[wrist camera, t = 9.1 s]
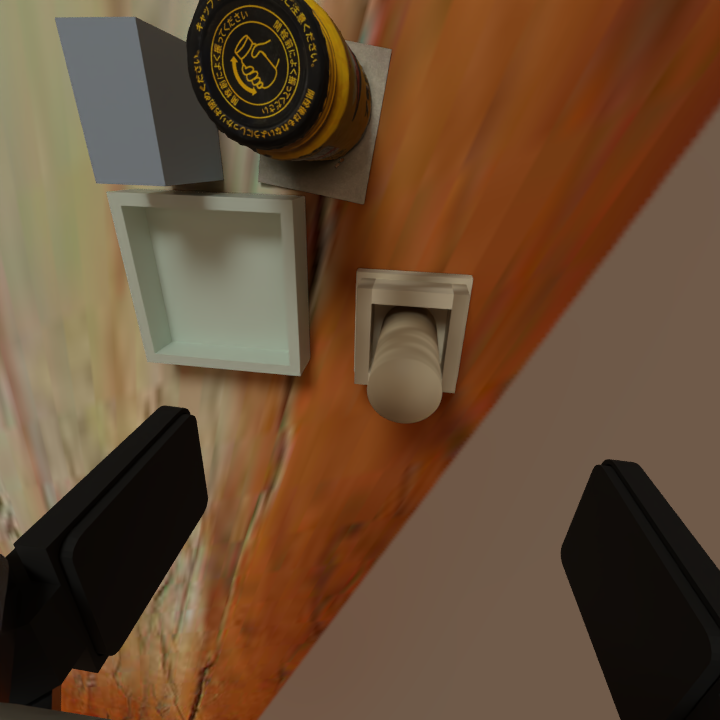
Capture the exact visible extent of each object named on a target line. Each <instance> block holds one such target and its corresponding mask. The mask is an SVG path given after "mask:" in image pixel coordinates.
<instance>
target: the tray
mask: <svg viewBox="0 0 720 720" xmlns="http://www.w3.org/2000/svg"><path fill="white" fill-rule="evenodd" d="M106 193H107V197H108V201H109V205H110V209H111V213H112V217H113V222H114V226H115V230H116V234H117V238H118V242H119V246H120V250H121V255H122V259H123V263H124V267H125V271H126V275H127V279H128V283H129V287H130V292H131V296H132V300H133V304H134V308H135V312H136V316H137V320H138V325H139V329H140V333H141V337H142V341H143V345H144V349H145V353H146V357H147V362H154V363H165V364H176V365H186V366H197V367H207V368H218V369H229V370H239V371H250V372H261V373H271V374H282V375H292V376H301V374H302V373H303V371H304V369H305V367H306V365H307V364H308V362H309V360H310V334H309V304H308V273H307V243H306V212H305V196H295V195H271V194H247V193H224V192H200V191H177V190H153V189H129V190H119V191H109V192H106Z"/></svg>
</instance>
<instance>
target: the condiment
mask: <svg viewBox="0 0 720 720" xmlns="http://www.w3.org/2000/svg"><path fill="white" fill-rule="evenodd" d="M186 48H187V63H188V73H189V77H190V81H191V84H192V88H193V91H194V93H195V95H196V98H197V100H198V102H199V103H200V105H201V107H202V108H203V109H204V111H205V112H206V113H207V115H208V117H209V119H210V120H211V121H212V122H214V123H215V125H216V127H217V129H219V130H220V131H221V132H223V133H225V134H226V135H227V137H228V138H230V139H232V140H234V141H236V142H238V143H239V144H240V145H244V146H247V147H249V148H251V149H252V150H253V151H254V152H257V153H259V154H260V163H259V178H258V182H261V183H266V184H271V185H276V186H281V187H285V188H290V189H295V190H300V191H304V192H309V193H313V194H318V195H319V194H320V195H323V196H327V197H332V198H336V199H341V200H346V201H350V202H354V203H359V204H364V201H365V195H366V189H367V184H368V179H369V172H370V167H371V161H372V156H373V151H374V145H375V140H376V134H377V129H378V124H379V118H380V112H381V107H382V101H383V96H384V90H385V85H386V79H387V73H388V68H389V62H390V56H391V50H392V49H387V48H382V47H377V46H372V45H366V44H362V43H356V42H351V41H346V40H344V38H343V36H342V34H341V31H339V29H338V28H337V26H336V25H335V23H334V22H333V20H332V19H331V18H330V17H329V16H328V14H327V13H326V12H325V11H324V10H323V9H322V8H321V7H320V6H319V5H318V4H317V3H316V2H315V1H314V0H199V3H198V6H197V8H196V11H195V13H194V16H193V19H192V22H191V24H190V27H189V30H188V34H187V40H186ZM342 158H343V159H344V161H343V162H340V159H342ZM337 163H340V165H339V166H338V167H337V168H336V167H335V165H336V164H337Z"/></svg>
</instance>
